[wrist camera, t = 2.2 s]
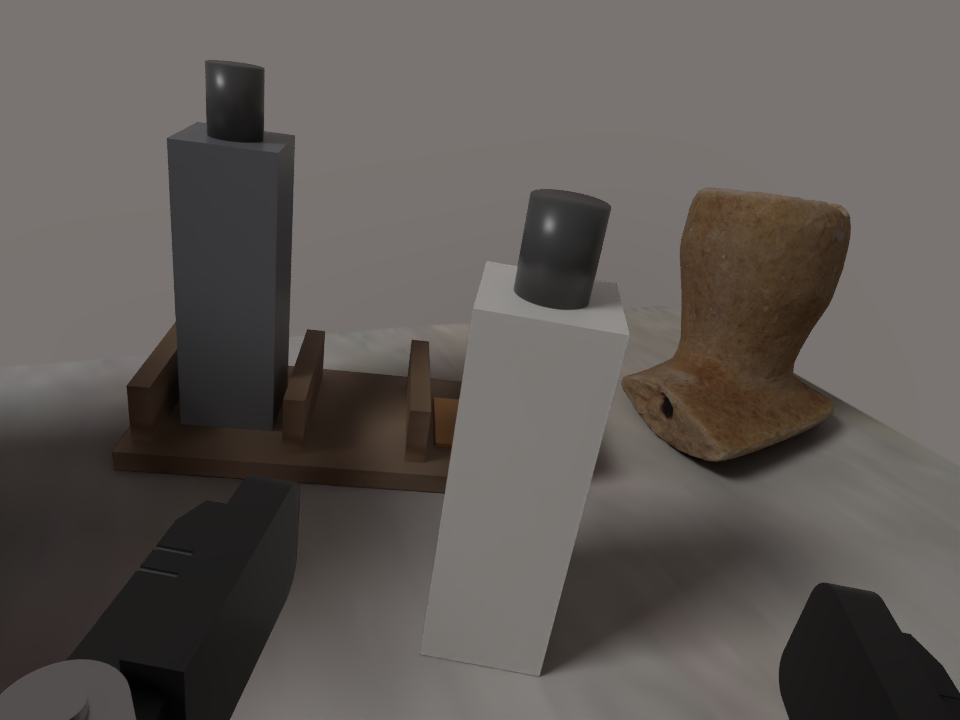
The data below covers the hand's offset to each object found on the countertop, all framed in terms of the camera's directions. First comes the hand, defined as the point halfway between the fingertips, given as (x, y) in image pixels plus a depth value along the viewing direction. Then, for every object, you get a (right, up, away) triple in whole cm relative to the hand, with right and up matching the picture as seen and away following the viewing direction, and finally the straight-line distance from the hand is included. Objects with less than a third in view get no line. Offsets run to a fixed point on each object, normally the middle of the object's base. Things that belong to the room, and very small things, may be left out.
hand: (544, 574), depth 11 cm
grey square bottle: (-14, +1, +27) cm, 30 cm away
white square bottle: (-1, -7, +17) cm, 19 cm away
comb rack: (-8, -1, +28) cm, 29 cm away
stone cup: (+14, 0, +36) cm, 39 cm away
